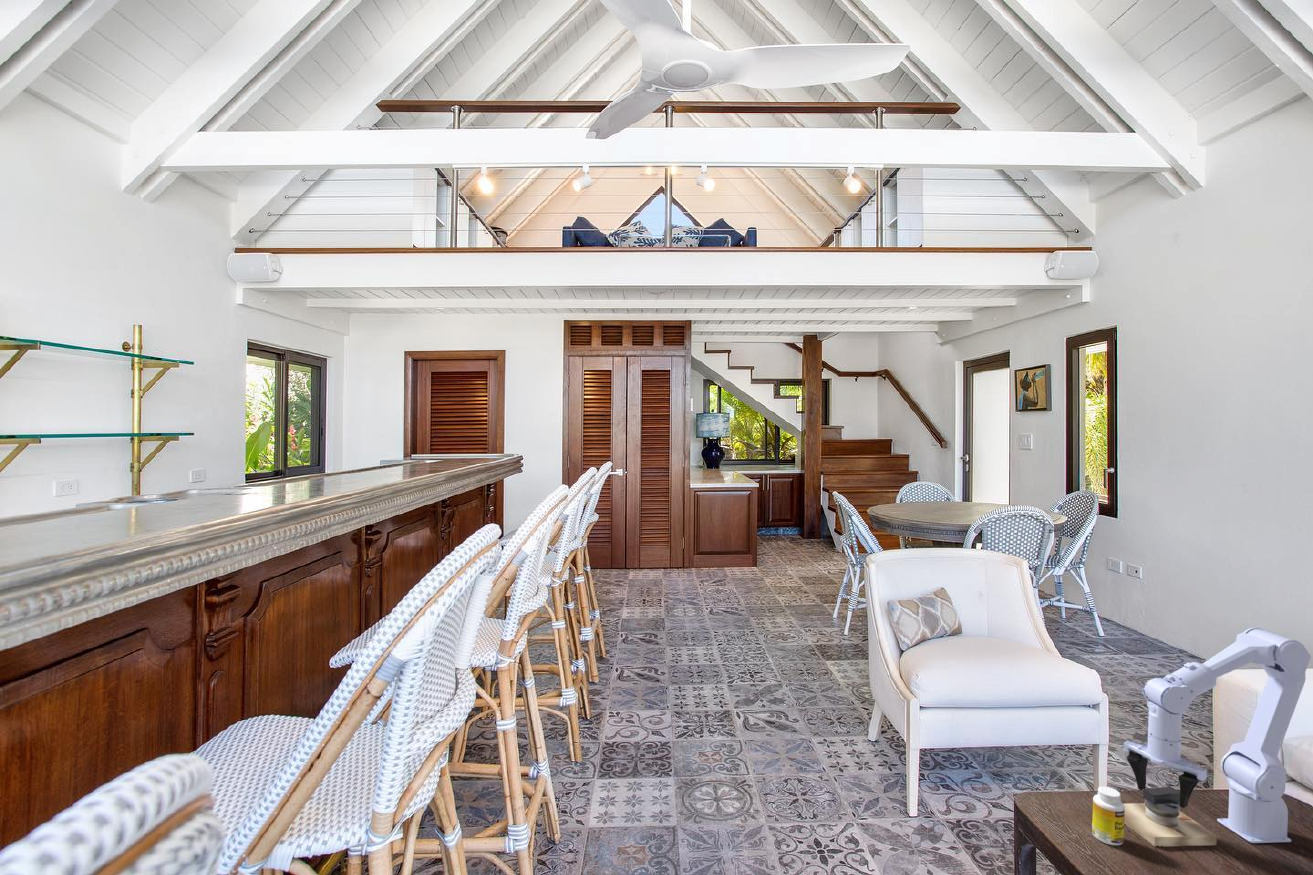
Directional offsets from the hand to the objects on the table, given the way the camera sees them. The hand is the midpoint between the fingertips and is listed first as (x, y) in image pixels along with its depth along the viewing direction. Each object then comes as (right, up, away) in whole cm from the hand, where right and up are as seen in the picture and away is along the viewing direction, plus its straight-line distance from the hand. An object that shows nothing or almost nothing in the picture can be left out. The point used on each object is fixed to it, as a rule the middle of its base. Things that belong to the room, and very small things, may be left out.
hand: (1162, 797), depth 141 cm
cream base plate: (0, -7, 0) cm, 7 cm away
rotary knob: (+1, -3, 0) cm, 3 cm away
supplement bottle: (-15, -7, -4) cm, 17 cm away
